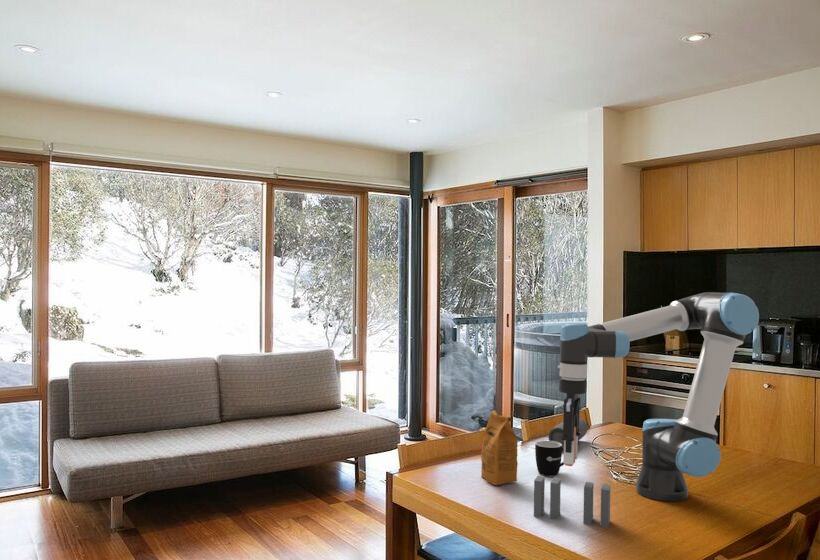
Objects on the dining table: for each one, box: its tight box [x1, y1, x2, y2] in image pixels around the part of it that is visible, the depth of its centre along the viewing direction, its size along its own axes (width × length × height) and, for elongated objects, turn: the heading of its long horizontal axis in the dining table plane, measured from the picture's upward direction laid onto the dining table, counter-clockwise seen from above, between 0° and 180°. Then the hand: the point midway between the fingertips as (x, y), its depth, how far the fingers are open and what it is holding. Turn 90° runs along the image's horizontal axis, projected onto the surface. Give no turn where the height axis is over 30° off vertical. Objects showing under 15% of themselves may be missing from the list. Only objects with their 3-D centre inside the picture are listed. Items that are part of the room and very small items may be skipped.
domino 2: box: [549, 477, 562, 521], centre depth 180 cm, size 2×5×10 cm, turn 158°
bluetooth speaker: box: [548, 417, 589, 448], centre depth 256 cm, size 23×9×10 cm, turn 147°
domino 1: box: [533, 475, 546, 518], centre depth 182 cm, size 2×5×10 cm, turn 158°
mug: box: [534, 440, 565, 477], centre depth 220 cm, size 12×9×10 cm
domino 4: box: [582, 481, 595, 526], centre depth 177 cm, size 2×5×10 cm, turn 158°
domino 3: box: [564, 427, 576, 467], centre depth 181 cm, size 2×5×10 cm, turn 156°
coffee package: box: [480, 410, 519, 486], centre depth 212 cm, size 10×12×22 cm
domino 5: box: [600, 483, 611, 528], centre depth 175 cm, size 2×5×10 cm, turn 158°
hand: (570, 460), depth 181 cm, fingers closed on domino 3, 5 cm apart
